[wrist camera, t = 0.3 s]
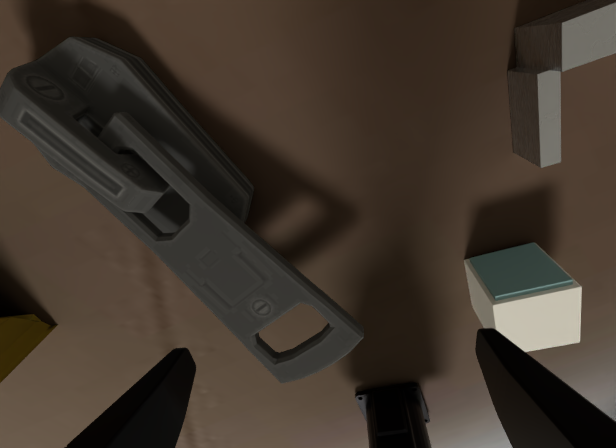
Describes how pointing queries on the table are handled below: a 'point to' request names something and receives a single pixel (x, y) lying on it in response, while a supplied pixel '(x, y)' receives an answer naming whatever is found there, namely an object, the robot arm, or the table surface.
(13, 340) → the yellow framed panel
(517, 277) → the cream matte cube
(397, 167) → the table surface
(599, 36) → the cleat
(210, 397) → the table surface
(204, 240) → the zipper pull
